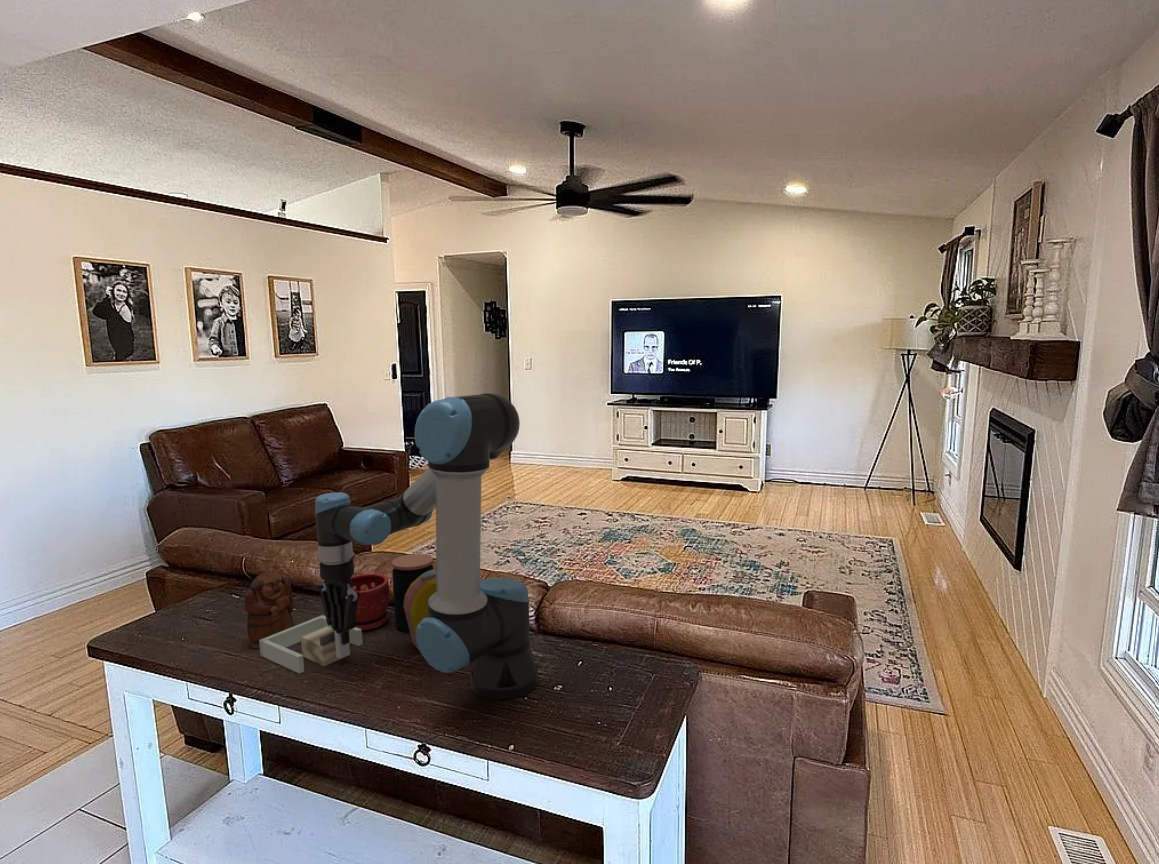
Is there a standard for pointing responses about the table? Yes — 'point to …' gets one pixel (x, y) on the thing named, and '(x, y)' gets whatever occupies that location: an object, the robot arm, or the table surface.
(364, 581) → the plant pot
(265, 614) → the wooden figurine
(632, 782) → the table surface
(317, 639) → the beige block
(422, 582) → the alarm clock
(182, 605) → the table surface
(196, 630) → the table surface
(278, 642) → the dock
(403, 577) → the coffee jar
